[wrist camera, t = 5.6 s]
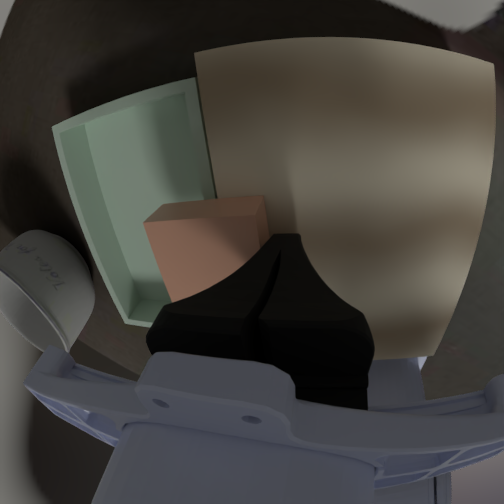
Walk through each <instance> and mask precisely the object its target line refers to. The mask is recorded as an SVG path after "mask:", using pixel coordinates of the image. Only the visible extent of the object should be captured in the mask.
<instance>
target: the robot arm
mask: <svg viewBox="0 0 504 504" xmlns="http://www.w3.org/2000/svg"><path fill="white" fill-rule="evenodd" d="M146 343H147V346H148V348H149V350H150V352H151V354H152V357H150V358H149V360H148V362H147V364H146V366H145V368H144V370H143V372H142V374H141V376H140V378H139V380H138V382H135V381H131V380H127V379H124V378H120V377H117V376H113V375H110V374H107V373H104V372H100V371H97V370H94V369H91V368H88V367H86V366H83V365H80V364H77V363H75V361H74V359H73V358H72V357H71V355H70V354H69V353H68V352H66V351H65V350H63V349H61V348H58V347H55V346H53V345H49V346H48V347H47V348H46V350H45V351H44V353H43V354H42V355H41V357H40V358H39V360H38V361H37V363H36V364H35V365H34V367H33V368H32V370H31V371H30V373H29V374H28V376H27V377H26V379H25V381H24V382H23V383H24V385H25V386H26V387H27V388H28V389H29V390H30V391H31V392H32V393H33V394H34V395H35V396H36V397H37V398H38V399H39V400H40V401H41V402H42V403H43V404H44V405H45V406H46V407H47V408H48V409H49V410H50V411H52V412H53V413H54V414H55V415H57V416H58V417H60V418H62V419H64V420H65V421H67V422H69V423H71V424H73V425H74V426H76V427H78V428H80V429H81V430H83V431H85V432H87V433H89V434H91V435H92V436H94V437H96V438H98V439H100V440H102V441H104V442H106V443H107V444H109V445H112V446H114V447H115V449H114V451H113V454H112V456H111V458H110V461H109V463H108V465H107V467H106V470H105V472H104V474H103V477H102V479H101V481H100V484H99V486H98V488H97V491H96V493H95V496H94V498H93V501H92V503H91V504H451V472H452V471H455V470H458V469H460V468H464V467H467V466H469V465H473V464H475V463H478V462H481V461H483V460H486V459H489V458H492V457H494V456H497V455H498V454H500V453H501V452H503V451H504V374H501V375H498V376H496V377H494V378H493V379H491V380H490V381H489V382H488V384H487V385H486V387H485V388H484V390H480V391H476V392H471V393H467V394H462V395H457V396H451V397H446V398H440V399H433V400H427V401H426V399H425V394H424V388H423V383H422V378H421V373H420V370H421V368H422V366H423V364H424V362H425V360H426V358H427V356H425V357H414V358H401V359H385V360H373V358H374V352H375V345H374V340H373V336H372V333H371V330H370V327H369V325H368V322H367V320H366V318H365V316H364V314H363V313H362V312H361V311H359V310H358V309H356V308H354V307H353V306H351V305H350V304H348V303H347V302H345V301H344V300H343V299H341V298H340V297H339V296H338V295H337V294H336V293H335V292H334V291H333V290H331V289H330V288H329V287H328V285H327V284H326V283H325V282H324V281H323V280H322V278H321V277H320V276H319V274H318V273H317V272H316V270H315V269H314V267H313V265H312V264H311V262H310V260H309V258H308V256H307V254H306V252H305V250H304V247H303V245H302V241H301V235H300V234H299V233H285V234H273V235H272V236H271V237H270V238H269V239H268V241H267V242H266V243H265V244H264V245H263V246H262V247H261V248H260V249H259V250H258V251H257V252H256V253H255V254H254V255H253V256H252V257H251V258H250V259H249V260H248V261H247V262H246V263H245V264H244V265H243V266H241V267H240V268H239V269H238V270H236V271H235V272H234V273H232V274H231V275H229V276H228V277H226V278H225V279H223V280H221V281H220V282H218V283H216V284H214V285H213V286H211V287H209V288H207V289H205V290H203V291H201V292H199V293H197V294H194V295H192V296H190V297H187V298H184V299H181V300H179V301H176V302H173V303H170V304H166V305H164V306H163V307H162V309H161V310H160V312H159V313H158V315H157V317H156V319H155V320H154V322H153V324H152V326H151V327H150V329H149V331H148V333H147V335H146Z"/></svg>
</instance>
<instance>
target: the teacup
mask: <svg viewBox="0 0 504 504" xmlns="http://www.w3.org/2000/svg"><path fill="white" fill-rule="evenodd" d="M94 303H95V290H94V285H93V282H92V279H91V274H90V271H89V268H88V266H87V264H86V262H85V260H84V259H83V257H82V256H81V254H80V253H79V252H78V250H77V249H76V248H75V247H74V246H73V245H72V244H71V243H69V242H68V241H67V240H65V239H64V238H62V237H60V236H58V235H55V234H52V233H49V232H47V231H43V230H30V231H27V232H25V233H23V234H21V235H20V236H18V237H17V238H16V239H14V240H13V241H12V242H11V243H9V244H8V245H7V246H6V247H5V248H4V249H3V250H2V251H1V252H0V312H1V313H2V315H3V316H4V317H5V319H6V320H7V321H8V322H9V323H10V324H11V326H12V327H13V328H14V329H15V330H16V331H17V332H19V333H20V334H21V335H22V336H23V337H24V338H25V339H26V340H27V341H29V342H30V343H31V344H33V345H34V346H35V347H37V348H38V349H40V350H41V351H43V352H44V351H45V350H46V348H47V347H48V346H49V345H53V346H55V347H58V348H61V349H63V350H65V351H66V352H68V353H69V351H70V348H71V346H72V344H73V343H74V342H75V340H76V338H77V337H78V335H79V334H80V332H81V330H82V329H83V327H84V325H85V324H86V322H87V320H88V319H89V317H90V315H91V313H92V310H93V307H94Z"/></svg>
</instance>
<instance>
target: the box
mask: <svg viewBox="0 0 504 504" xmlns="http://www.w3.org/2000/svg"><path fill="white" fill-rule="evenodd" d="M52 130H53V135H54V139H55V143H56V147H57V151H58V155H59V159H60V163H61V167H62V170H63V174H64V177H65V180H66V184H67V187H68V190H69V193H70V196H71V199H72V202H73V205H74V208H75V211H76V214H77V217H78V220H79V222H80V225H81V228H82V230H83V233H84V235H85V238H86V241H87V243H88V246H89V248H90V250H91V253H92V255H93V258H94V260H95V262H96V265H97V267H98V269H99V271H100V274H101V276H102V278H103V280H104V282H105V284H106V286H107V289H108V291H109V293H110V295H111V297H112V299H113V301H114V303H115V305H116V307H117V309H118V311H119V313H120V315H121V316H122V318H123V320H124V322H125V324H131V325H138V326H144V327H151V326H152V324H153V322H154V320H155V319H156V317H157V315H158V313H159V312H160V310H161V309H162V307H163V306H164V305H166V304H170V303H172V301H171V298H170V296H169V293H168V291H167V288H166V286H165V283H164V281H163V278H162V275H161V273H160V270H159V267H158V265H157V262H156V259H155V257H154V254H153V251H152V248H151V245H150V243H149V240H148V237H147V234H146V231H145V228H144V225H143V222H144V221H145V220H146V219H147V218H148V217H149V216H150V215H151V214H153V213H154V212H155V211H156V210H157V209H158V208H159V207H160V206H161V205H162V204H167V203H176V202H186V201H197V200H208V199H218V197H217V191H216V186H215V180H214V174H213V169H212V163H211V157H210V151H209V145H208V139H207V133H206V127H205V121H204V115H203V109H202V102H201V96H200V90H199V83H198V77H194V78H189V79H185V80H181V81H177V82H173V83H169V84H165V85H161V86H158V87H154V88H151V89H147V90H144V91H141V92H137V93H134V94H131V95H128V96H125V97H122V98H119V99H117V100H114V101H111V102H108V103H106V104H103V105H100V106H98V107H95V108H93V109H90V110H88V111H85V112H83V113H81V114H78V115H76V116H74V117H72V118H69V119H67V120H65V121H63V122H61V123H59V124H57V125H55V126H52Z"/></svg>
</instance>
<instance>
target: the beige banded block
mask: <svg viewBox="0 0 504 504" xmlns="http://www.w3.org/2000/svg"><path fill="white" fill-rule="evenodd" d="M194 56H195V63H196V70H197V76H198V83H199V90H200V96H201V102H202V109H203V115H204V121H205V127H206V133H207V139H208V145H209V151H210V157H211V163H212V169H213V174H214V180H215V186H216V191H217V197H218V199H220V198H232V197H246V196H262V195H264V200H265V207H266V215H267V222H268V229H269V237H271V236H272V235H273V234H285V233H299V234H300V235H301V241H302V245H303V247H304V250H305V252H306V254H307V256H308V258H309V260H310V262H311V264H312V265H313V267H314V269H315V270H316V272H317V273H318V274H319V276H320V277H321V278H322V280H323V281H324V282H325V283H326V284H327V285H328V287H329V288H330V289H331V290H333V291H334V292H335V293H336V294H337V295H338V296H339V297H340V298H341V299H343V300H344V301H345V302H347V303H348V304H350V305H351V306H353V307H354V308H356V309H358V310H359V311H361V312H362V313H363V314H364V316H365V318H366V320H367V322H368V325H369V327H370V330H371V333H372V336H373V340H374V345H375V352H374V358H373V360H385V359H401V358H414V357H425V356H433V355H434V353H435V351H436V349H437V347H438V345H439V343H440V341H441V339H442V337H443V335H444V333H445V330H446V328H447V326H448V324H449V321H450V319H451V317H452V314H453V312H454V310H455V307H456V305H457V302H458V300H459V297H460V294H461V292H462V289H463V286H464V283H465V281H466V278H467V275H468V272H469V269H470V265H471V262H472V259H473V256H474V252H475V249H476V245H477V242H478V238H479V234H480V230H481V226H482V221H483V217H484V212H485V208H486V202H487V197H488V191H489V185H490V179H491V171H492V163H493V154H494V142H495V122H496V92H495V73H494V64H492V63H489V62H486V61H483V60H480V59H477V58H473V57H470V56H466V55H463V54H459V53H455V52H451V51H447V50H443V49H438V48H433V47H428V46H423V45H417V44H411V43H405V42H398V41H389V40H380V39H368V38H350V37H306V38H288V39H276V40H266V41H257V42H250V43H243V44H236V45H230V46H225V47H220V48H214V49H210V50H205V51H200V52H196V53H194Z"/></svg>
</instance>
